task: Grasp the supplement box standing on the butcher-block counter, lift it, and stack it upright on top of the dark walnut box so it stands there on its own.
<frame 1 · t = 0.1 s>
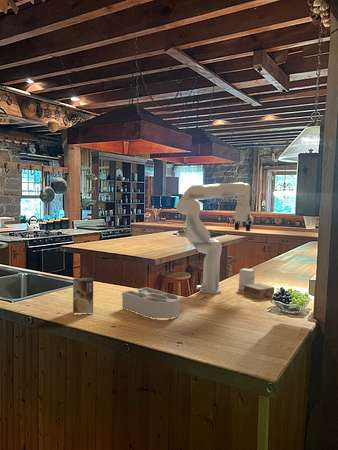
hand: (242, 230, 233), 37 cm above the countertop, tool pointing down, fingers open, 9 cm apart
supplement box: (246, 289, 231), on the countertop
walnut box: (258, 296, 216), on the countertop
ice cube tray: (153, 313, 178), on the countertop
coffee box: (82, 313, 173), on the countertop
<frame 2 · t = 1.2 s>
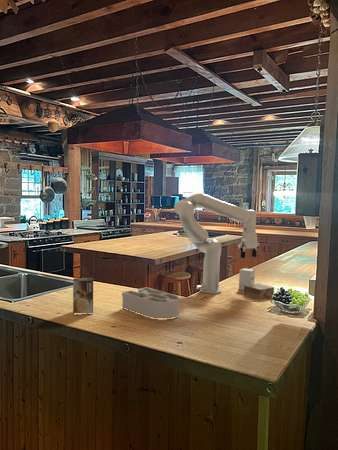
hand: (248, 257, 230), 20 cm above the countertop, tool pointing down, fingers open, 9 cm apart
nothing on the countertop moved.
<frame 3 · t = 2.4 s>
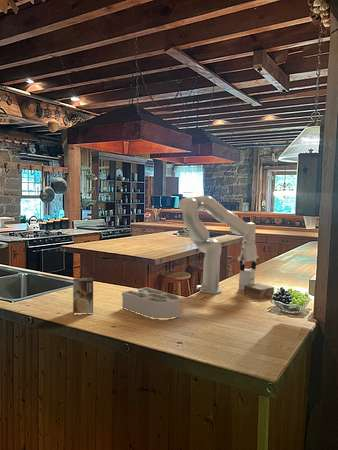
hand: (247, 269, 230), 12 cm above the countertop, tool pointing down, fingers open, 9 cm apart
supplement box: (246, 289, 231), on the countertop, touching gripper
everything else where it was.
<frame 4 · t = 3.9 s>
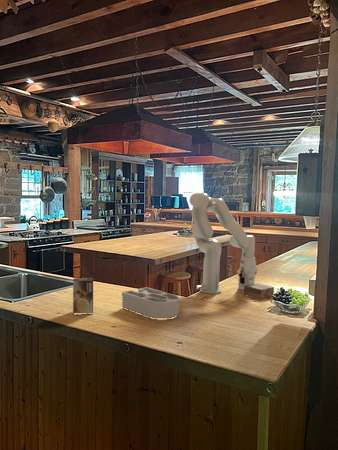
hand: (247, 282, 231), 4 cm above the countertop, tool pointing down, fingers closed on supplement box, 8 cm apart
supplement box: (246, 289, 231), on the countertop, touching gripper
everything else where it was.
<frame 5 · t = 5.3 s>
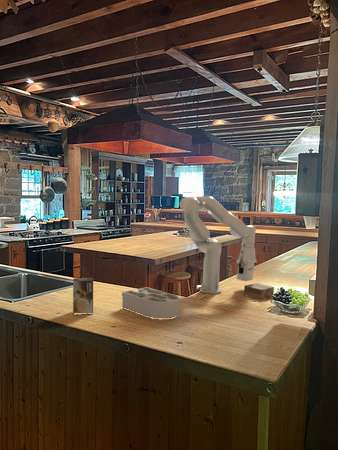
hand: (245, 273, 230), 10 cm above the countertop, tool pointing down, fingers closed on supplement box, 8 cm apart
supplement box: (244, 280, 230), point 6 cm above the countertop, touching gripper
everything else where it was.
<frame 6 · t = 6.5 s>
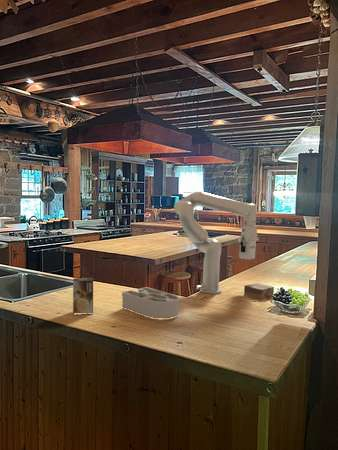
hand: (247, 251, 229), 24 cm above the countertop, tool pointing down, fingers closed on supplement box, 8 cm apart
supplement box: (247, 258, 230), point 19 cm above the countertop, touching gripper
everything else where it was.
when the fingers open (11 cm above the countertop, at t = 10.6 s): supplement box drops 1 cm, resting on walnut box.
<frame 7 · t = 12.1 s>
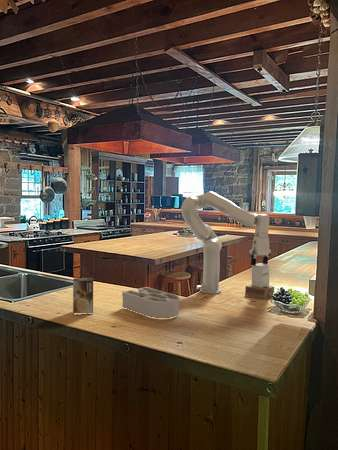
hand: (259, 264, 215), 18 cm above the countertop, tool pointing down, fingers open, 9 cm apart
supplement box: (260, 285, 216), point 6 cm above the countertop, touching walnut box
walnut box: (259, 296, 216), on the countertop, touching supplement box
everything else where it was.
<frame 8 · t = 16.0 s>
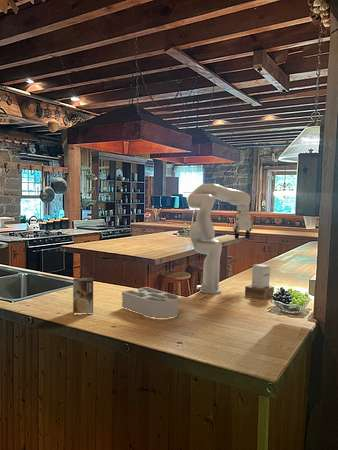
hand: (242, 238, 245), 30 cm above the countertop, tool pointing down, fingers open, 9 cm apart
supplement box: (260, 286, 215), point 5 cm above the countertop, touching walnut box
everything else where it was.
at the end: supplement box inside the target area on the walnut box (0.4 cm from its centre), point 5.9 cm above the walnut box's base; supplement box tilted 1°; the gripper is holding nothing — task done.
